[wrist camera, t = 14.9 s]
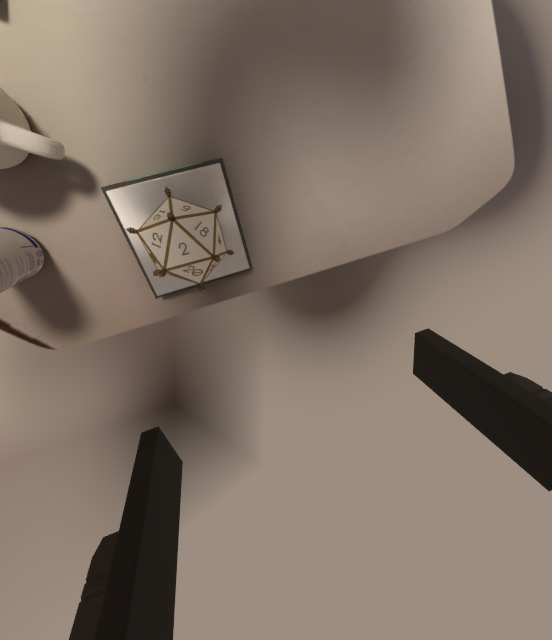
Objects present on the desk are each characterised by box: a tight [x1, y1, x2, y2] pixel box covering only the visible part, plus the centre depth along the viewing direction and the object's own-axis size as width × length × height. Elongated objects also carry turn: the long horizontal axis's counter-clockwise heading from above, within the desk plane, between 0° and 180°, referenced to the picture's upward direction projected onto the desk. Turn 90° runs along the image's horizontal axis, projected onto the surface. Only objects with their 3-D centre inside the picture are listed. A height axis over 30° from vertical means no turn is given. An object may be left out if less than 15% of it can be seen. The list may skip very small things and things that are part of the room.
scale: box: [101, 158, 253, 298], centre depth 30 cm, size 12×12×2 cm
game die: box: [126, 186, 235, 292], centre depth 25 cm, size 9×8×10 cm
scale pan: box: [106, 163, 249, 296], centre depth 29 cm, size 11×11×1 cm
